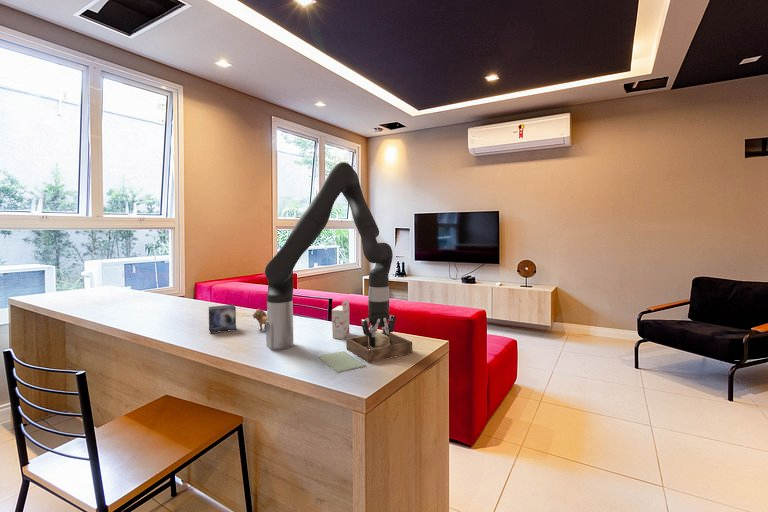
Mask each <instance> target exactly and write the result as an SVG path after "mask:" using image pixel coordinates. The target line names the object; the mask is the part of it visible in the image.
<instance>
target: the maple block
mask: <svg viewBox="0 0 768 512" xmlns="http://www.w3.org/2000/svg"><path fill="white" fill-rule="evenodd" d="M374 337H375V347H371V346H370V345H369V336H368V346H367V347H368V348H367V349H375V348H380V347H385V346H390V345H391V344H390V337H388V336H386V335H384V334H382V332H379V331H376V333H375V336H374Z"/></svg>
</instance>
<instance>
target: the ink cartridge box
mask: <svg viewBox="0 0 768 512" xmlns="http://www.w3.org/2000/svg"><path fill="white" fill-rule="evenodd" d="M349 302H350V301H349V299H346V300H344V301H343V302H342V303H341V305H338V306H336V307H335V308H333V309H331V323H332V324H331V326H332V327H331V328H332V329H331V330H332V339H339V340H340V339H341V340H344V339H346V337H347V336H348V335H349V334H350V304H349Z"/></svg>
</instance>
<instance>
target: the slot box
mask: <svg viewBox="0 0 768 512" xmlns="http://www.w3.org/2000/svg"><path fill="white" fill-rule="evenodd" d="M381 333H382V334H384V333H383V331H382V332H381ZM388 337H390V346H385V347H380V348H375V349H370V350H369V349H368V348H367V347H368V336H366V335H360V336H354V337H349V338H345V339H346V340H345V341H346V344H345V345H346V349H347V351H348V352H349V353H351V352H352V353H351V354H353V355H355V356H356V355H357V356H356V357H357V358H359V359H361V360H363V361H364V360H365V361H364V362H365V363H374V362H373V361H375V362H378V360H379V361H383V360H387V358H388V359H392V358H396V357H395V356H397V357H401V356H404V354H406V355H409V354H408V353H410V354H413V341H412V340H409V339H406V338H405V337H402V336H399V335H397V334H395V333H393V332H390V333H389V335H388ZM391 344H392V345H391ZM365 346H367V347H365ZM400 355H401V356H400ZM391 357H392V358H391Z"/></svg>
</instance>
